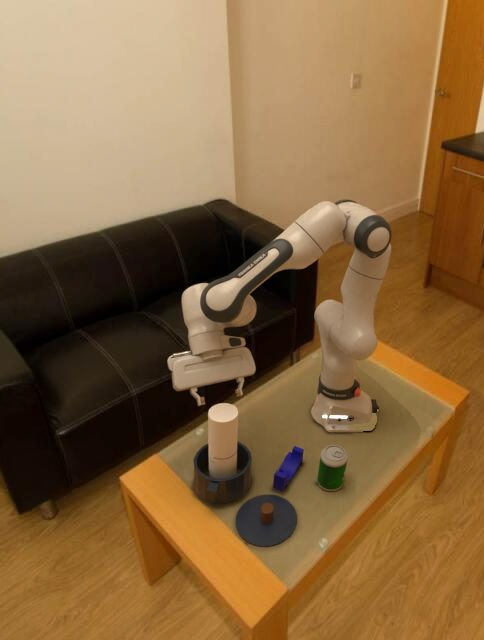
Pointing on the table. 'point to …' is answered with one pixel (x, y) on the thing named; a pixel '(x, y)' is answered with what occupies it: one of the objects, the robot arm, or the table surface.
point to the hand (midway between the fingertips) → (220, 400)
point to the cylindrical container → (222, 440)
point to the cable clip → (288, 468)
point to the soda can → (332, 468)
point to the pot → (222, 488)
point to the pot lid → (266, 520)
